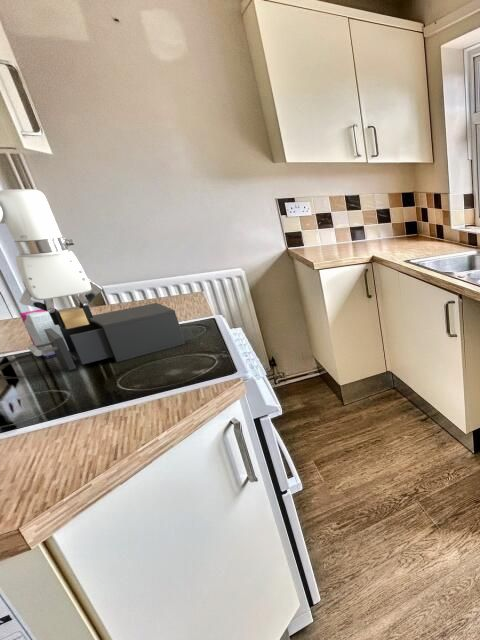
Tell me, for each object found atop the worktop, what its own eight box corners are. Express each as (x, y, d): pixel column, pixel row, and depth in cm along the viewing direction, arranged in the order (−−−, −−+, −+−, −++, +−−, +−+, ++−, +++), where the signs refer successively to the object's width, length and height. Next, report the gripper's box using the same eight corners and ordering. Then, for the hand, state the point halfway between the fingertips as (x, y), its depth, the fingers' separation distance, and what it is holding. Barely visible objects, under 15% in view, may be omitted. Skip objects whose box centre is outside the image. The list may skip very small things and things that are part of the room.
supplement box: (77, 350, 112) (59, 309, 108) (47, 358, 107) (27, 315, 103) (67, 347, 114) (48, 306, 110) (37, 355, 109) (17, 313, 105)
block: (66, 329, 99) (59, 313, 97) (62, 326, 101) (55, 310, 100) (89, 324, 102) (82, 308, 100) (85, 321, 104) (78, 306, 103)
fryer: (116, 362, 104) (102, 325, 100) (101, 350, 111) (87, 316, 108) (185, 343, 115) (174, 310, 111) (167, 334, 122) (156, 302, 119)
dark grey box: (45, 376, 95) (30, 344, 92) (34, 364, 101) (20, 334, 99) (141, 351, 108) (130, 322, 105) (126, 341, 115) (116, 314, 112)
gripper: (87, 241, 103) (115, 312, 110) (-17, 251, 90) (22, 331, 97) (95, 243, 99) (124, 317, 106) (-12, 254, 86) (28, 337, 93)
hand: (75, 323), depth 101 cm, fingers closed on block, 4 cm apart
